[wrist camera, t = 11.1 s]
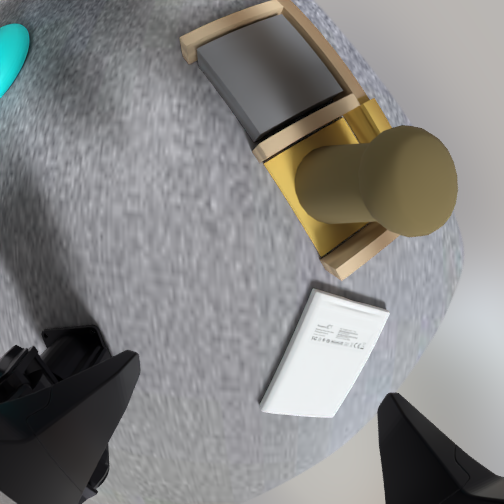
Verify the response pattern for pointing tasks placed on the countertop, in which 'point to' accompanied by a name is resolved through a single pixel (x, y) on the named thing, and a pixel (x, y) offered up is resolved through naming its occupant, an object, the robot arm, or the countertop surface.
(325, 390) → the external hard drive
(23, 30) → the donuts
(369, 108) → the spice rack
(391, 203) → the olive brown pawn
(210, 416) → the countertop surface
